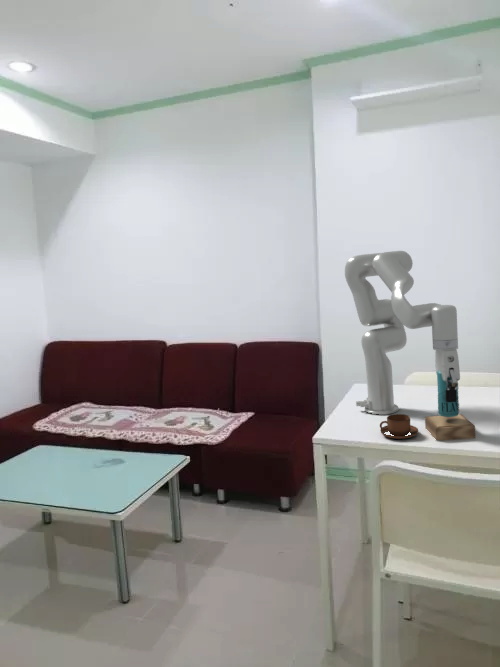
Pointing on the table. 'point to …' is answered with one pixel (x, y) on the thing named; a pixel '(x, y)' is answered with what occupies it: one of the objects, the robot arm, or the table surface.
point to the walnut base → (450, 427)
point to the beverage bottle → (445, 407)
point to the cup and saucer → (398, 427)
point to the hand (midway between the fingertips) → (447, 398)
